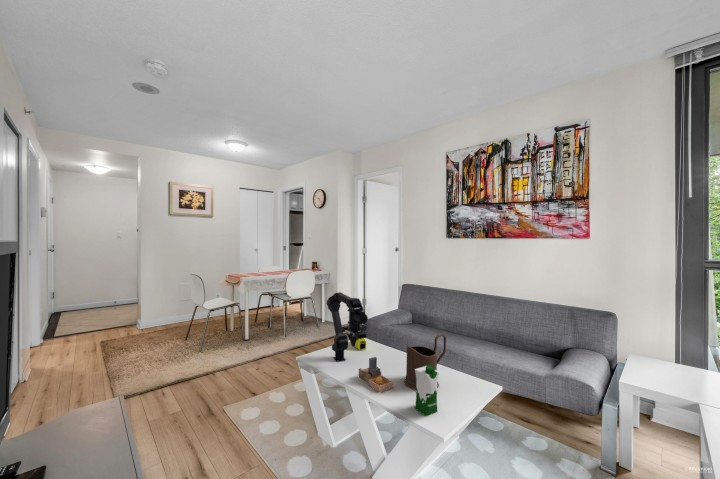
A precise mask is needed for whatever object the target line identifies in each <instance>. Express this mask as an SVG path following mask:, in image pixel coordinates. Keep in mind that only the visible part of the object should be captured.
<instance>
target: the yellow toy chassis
mask: <svg viewBox="0 0 720 479" xmlns="http://www.w3.org/2000/svg"><path fill="white" fill-rule="evenodd" d="M349 344H351V342H350V341H349ZM354 348H357V350H358V351H364V350H366V349H367V340H366V338H362V339H357V341H356V344H355V346H354Z"/></svg>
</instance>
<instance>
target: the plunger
mask: <svg viewBox="0 0 720 479" xmlns="http://www.w3.org/2000/svg"><path fill="white" fill-rule="evenodd" d="M377 360H378V359H377V356H373V357H370V358H368V367H367V368H368V373H369V374H370V375H371V376H372V377H373V376H376V375H380V371H381V368H379V367H378V364H377V362H378V361H377Z"/></svg>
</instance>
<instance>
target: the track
mask: <svg viewBox="0 0 720 479" xmlns="http://www.w3.org/2000/svg"><path fill="white" fill-rule="evenodd" d="M368 368H369V367H367V368H361V367H359V368H358V379H360V380H362V381H363V382H365V383H366V384H367V385H368V380H369V379H372V378H375V377H379V376H382V371H381V370H380V375H376V376H373V377H372V376H371V375H370V374H369V373H368Z"/></svg>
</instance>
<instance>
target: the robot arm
mask: <svg viewBox="0 0 720 479" xmlns="http://www.w3.org/2000/svg"><path fill="white" fill-rule="evenodd" d="M341 303H343V304H345V305H346V307H347V308H348V309H346V310H347V312H348V321H347V324H348V325H342V320H341V314H340V308H341ZM326 305H327V309H328V310H329V312H330V313H331V317H332V322H333V328H334V333H335V336H334V339H333V341H334V342H333V344H332V345H331V350H332V351H334V352H335V353H334V356H333V357H332V358H333V359H334V360H333V361H334V362H343V361H344V362H345V361H346V358H345V350H346V351H347V350H348V349H349V348H348V347H349V343H350V342H351V343H350V344H351V346H352V347H354V346H355V344H356V341H357V339H362V338H364V339H366V338H367V333H366V331H367V328H368V325H365V324H366V323H367V322H368V321H369V320H368V319H369V318H368V315H367V314H366V312H365V311H364V307H363V304H362V301H361V300H360V298H358V297H350V296H348V295H346V294H345V293H343V292H341V291H339V292H335V293H333V295H331V296H329V297H328V299H327V300H326ZM346 331H347V333H346V334H344V333H345V332H346ZM354 348H355V347H354Z"/></svg>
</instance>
